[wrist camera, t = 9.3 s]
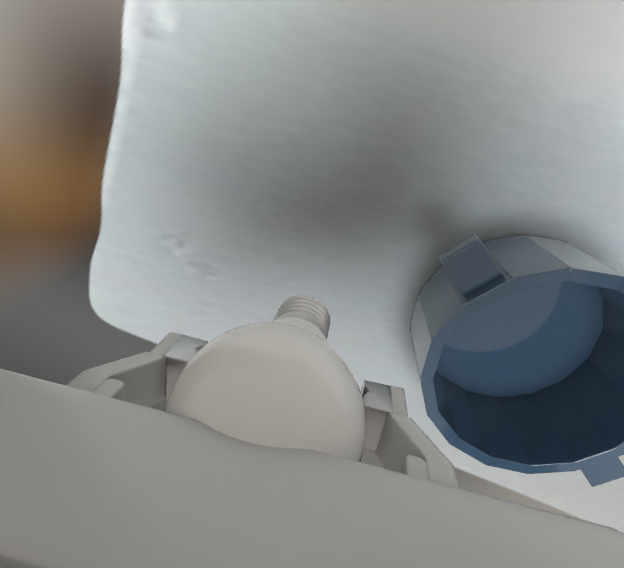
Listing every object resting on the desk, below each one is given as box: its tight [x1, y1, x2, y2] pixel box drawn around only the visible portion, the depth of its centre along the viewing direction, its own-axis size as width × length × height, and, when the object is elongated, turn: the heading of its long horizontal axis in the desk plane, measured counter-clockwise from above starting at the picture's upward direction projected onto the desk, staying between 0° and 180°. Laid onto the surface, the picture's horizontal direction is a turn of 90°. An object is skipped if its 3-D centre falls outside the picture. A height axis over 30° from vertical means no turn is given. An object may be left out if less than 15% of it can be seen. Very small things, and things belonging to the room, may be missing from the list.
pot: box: [410, 235, 624, 487], centre depth 26 cm, size 15×20×7 cm
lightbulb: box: [165, 295, 366, 462], centre depth 14 cm, size 6×6×11 cm
